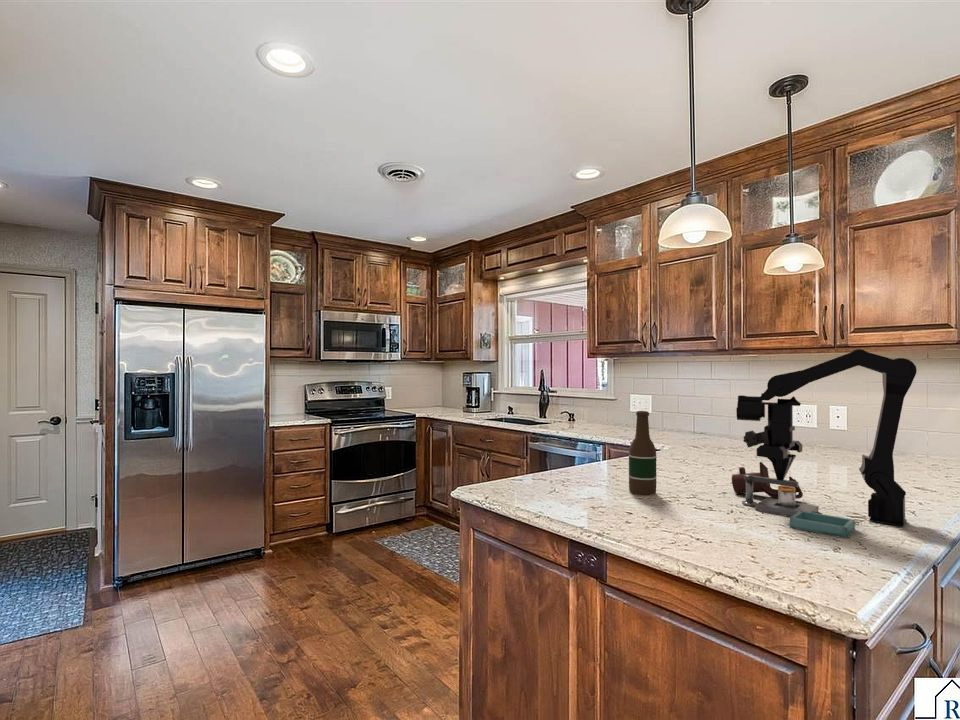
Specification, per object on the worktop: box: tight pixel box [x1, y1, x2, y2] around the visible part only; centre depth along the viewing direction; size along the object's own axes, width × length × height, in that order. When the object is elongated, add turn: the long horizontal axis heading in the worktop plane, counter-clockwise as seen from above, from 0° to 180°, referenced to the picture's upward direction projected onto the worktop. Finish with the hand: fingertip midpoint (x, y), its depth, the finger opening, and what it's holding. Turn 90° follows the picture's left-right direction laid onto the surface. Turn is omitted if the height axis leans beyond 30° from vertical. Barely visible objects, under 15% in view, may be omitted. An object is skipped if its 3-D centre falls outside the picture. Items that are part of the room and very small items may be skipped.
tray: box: [789, 511, 856, 539], centre depth 121 cm, size 11×9×2 cm
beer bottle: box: [628, 410, 657, 496], centre depth 156 cm, size 8×8×24 cm
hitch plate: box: [741, 481, 819, 517], centre depth 138 cm, size 17×10×6 cm, turn 46°
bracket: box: [731, 461, 804, 500], centre depth 151 cm, size 6×17×10 cm, turn 53°
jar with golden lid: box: [777, 485, 796, 509], centre depth 136 cm, size 4×4×6 cm
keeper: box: [744, 475, 799, 487], centre depth 139 cm, size 13×3×1 cm, turn 46°
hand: (780, 481), depth 139 cm, fingers closed
